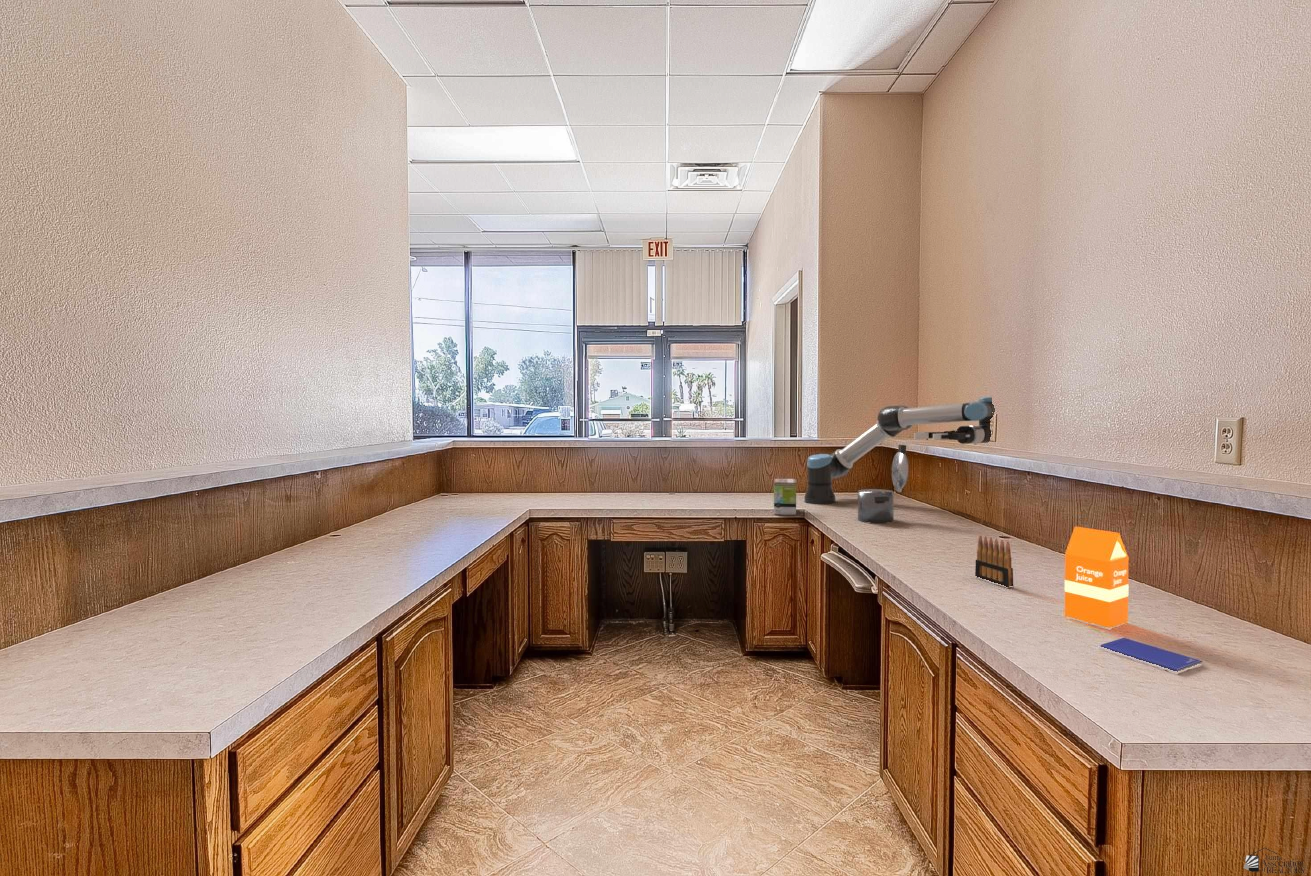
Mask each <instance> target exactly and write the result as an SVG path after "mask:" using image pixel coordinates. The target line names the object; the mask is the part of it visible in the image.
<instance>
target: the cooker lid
mask: <svg viewBox="0 0 1311 876" xmlns="http://www.w3.org/2000/svg"><path fill="white" fill-rule="evenodd" d="M906 452H907V445H906V444H898V449H897V452H896V454H895V455H894V457H893V460H892V463H891V481H892V484H893V486H894V492H897V493H902V490H903V488H905V486H906V484H907V482H908V478H909V470H910V469H909V468H910V467H909V460H908V456H907V455H906Z"/></svg>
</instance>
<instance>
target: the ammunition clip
mask: <svg viewBox="0 0 1311 876" xmlns="http://www.w3.org/2000/svg"><path fill="white" fill-rule="evenodd" d="M1011 553H1012V552H1011V545H1010V543H1009V541H1006V543H1004V540H1003V539H1001V540H1000V543H999V540H998V539H997V538H995V539H994V541H993V538H992V537H990V538H989V540H988V538H987V536H986V535H985V536H984V538H983V537H982V535H981V534H979V536H978V538H977V548H976V559H975V569H974V570H975V572H974V573H975V574H974V577H975V576H977V577H980V578H982V579H986V580H989V581H991V582H994V583H998V584H1001V585H1004V586H1006V587H1009V586H1013V587H1014V568H1013V567H1012V556H1011V555H1012V554H1011Z"/></svg>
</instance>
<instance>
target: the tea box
mask: <svg viewBox="0 0 1311 876" xmlns="http://www.w3.org/2000/svg"><path fill="white" fill-rule="evenodd" d="M773 481H774V482H773V514H774V515H783V516H785V515H788V516H789V515H790V516H792V515H797V481H796V478H774V480H773Z"/></svg>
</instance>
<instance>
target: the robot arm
mask: <svg viewBox="0 0 1311 876" xmlns="http://www.w3.org/2000/svg"><path fill="white" fill-rule="evenodd" d="M992 397H993V396H986V397H979V399H978V401H973V402H972V401H971V402H965V403H955V404H953V403H951V404H943V405H940V404H939V405H932V406H929V405H928V406H920V407H918V406H917V407H909V406H908V405H907V406H906V405H903V404H898V405H887V406H885V407H883V408H882V409H880V410H879V412H878V414H877V419H876V420H877V421H876V423H875V424H873V425H872V426H871V427H870V428H868V429H867V430H866V431H865V432H863V433H862V434H861V435H860V436H858V437H857V438H856V439H854V440H852V441H851V442H850V443H849V444H847V445H846V446H844V447H843V448H842V449H840V448H839V449H836V450H834V452H832V453H830V454H829V453H819V454H812V455H810V456H808V457H807V463H806V465H807V467H806V468H807V488H806V491H805V495H804V498H803V499H804V501H803V502H805V503H809V504H817V505H818V504H819V505H820V504H835V503H836V499H837V498H836V495H835V492H834V489H833V485H832V483H833V482H832V481H833V479H837V478H842V477H844V476H846V475H847V474H848V473H849V471H850V470H851V469H852V468H853V467H854V463H855V462H857V461H858V460H859V459H860V458H862V457H863V456H865V455H866V454H867V453H868V452H870V451H871V450H872V449H874V448H875V447H877V446H878V445H880V444H881V443H882V442H884V441H885V440H887V438H889V437H890V438H895V437H896V436H897V435H899V434H900V433H902V432H903V431H906V430H909V429H911V428H912V427H913V426H917V425H919V426H920V425H929V424H943V423H945V424H946V423H957V422H976V421H978V425H977V424H976V425H961V426H959V427H958V428H957V429H956V430H945V431H933V432H931V431H926V432H913V440H926V441H929V439H932V441H949V440H950V441H957V442H958V443H959V444H962V445H967V444H974V446H975V445H977V444H986V443H987V444H989V443H988V442H989V441H990V437H991V430H990V419H991V418H992V417H993V415H994V412H995V408H994V405H993V404H992ZM992 412H993V413H992Z"/></svg>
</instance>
